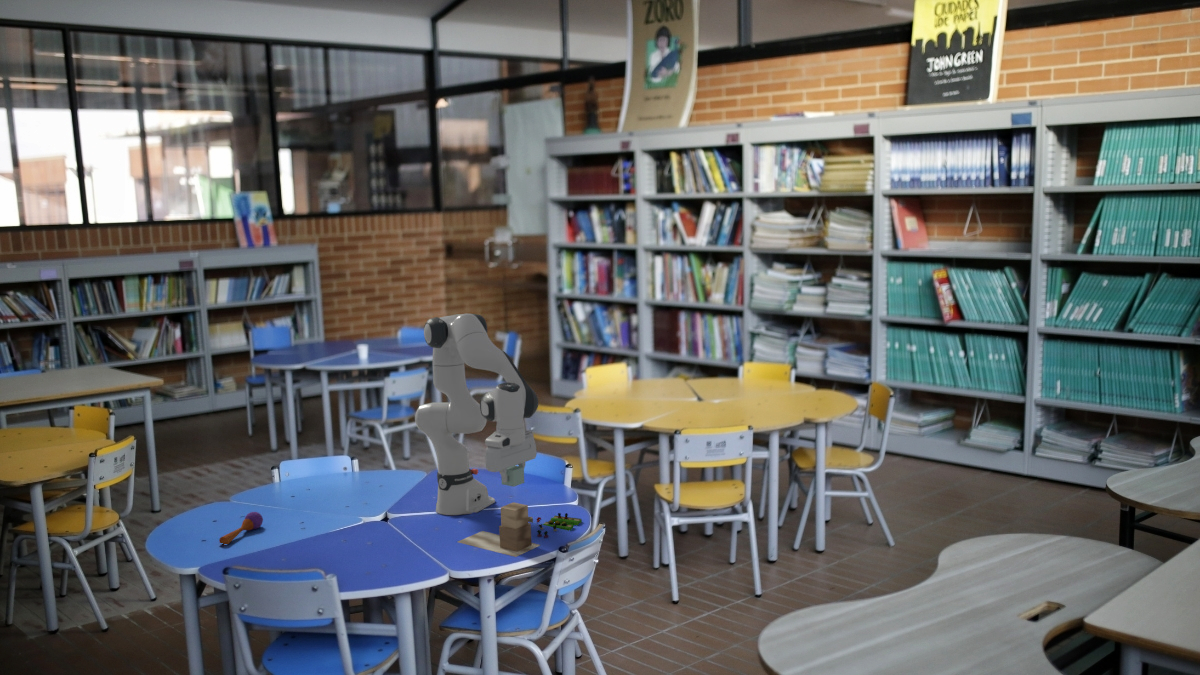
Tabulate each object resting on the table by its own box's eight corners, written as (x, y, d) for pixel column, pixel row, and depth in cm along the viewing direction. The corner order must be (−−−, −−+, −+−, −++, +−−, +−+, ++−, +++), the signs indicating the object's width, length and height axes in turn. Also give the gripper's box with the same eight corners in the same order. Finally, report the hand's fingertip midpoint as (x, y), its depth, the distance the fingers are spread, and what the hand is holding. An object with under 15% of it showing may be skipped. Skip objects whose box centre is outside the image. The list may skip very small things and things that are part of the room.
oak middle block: (514, 520, 310) (513, 502, 309) (528, 523, 306) (527, 505, 306) (501, 525, 305) (500, 507, 304) (515, 529, 302) (515, 510, 301)
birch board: (482, 535, 322) (482, 530, 322) (541, 549, 307) (540, 544, 307) (456, 546, 313) (456, 541, 312) (515, 561, 298) (515, 556, 298)
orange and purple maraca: (213, 534, 320) (248, 510, 339) (218, 550, 321) (253, 526, 340) (228, 531, 319) (263, 508, 338) (234, 548, 320) (268, 524, 339)
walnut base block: (514, 540, 312) (513, 519, 311) (531, 544, 307) (530, 523, 306) (500, 547, 306) (499, 526, 305) (517, 551, 302) (516, 530, 301)
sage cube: (512, 480, 307) (511, 465, 307) (524, 482, 304) (523, 467, 304) (501, 484, 303) (501, 468, 303) (513, 486, 300) (513, 470, 300)
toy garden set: (551, 546, 312) (550, 532, 311) (499, 539, 320) (498, 525, 319) (582, 523, 332) (581, 510, 332) (532, 517, 340) (531, 504, 340)
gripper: (525, 427, 312) (526, 470, 314) (481, 441, 296) (483, 485, 297) (540, 430, 308) (542, 472, 310) (496, 443, 292) (498, 488, 294)
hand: (512, 479), depth 304 cm, fingers closed on sage cube, 5 cm apart
